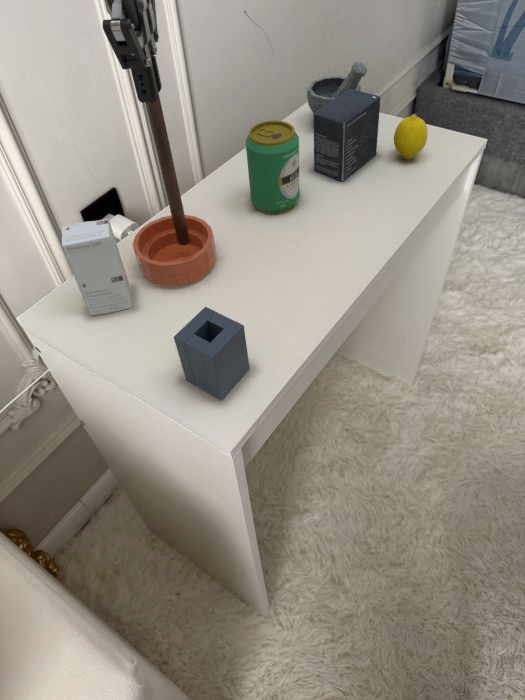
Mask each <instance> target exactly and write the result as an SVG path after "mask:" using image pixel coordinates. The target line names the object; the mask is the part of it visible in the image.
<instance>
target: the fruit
mask: <svg viewBox="0 0 525 700" xmlns="http://www.w3.org/2000/svg"><path fill="white" fill-rule="evenodd" d="M428 135H429V134H428V127H427V124H426V122H425V120H424V119H422V118H421V117H420V116H417V114H416V113H412V114H411V115H410V116H407V117H405V118H402V119H401V121H399V123H398V124H397V126H396V128H395V130H394V135H393V145H394V148H395V150H396V151H397V152H398V153H399V155H401V156H402V158H403V159H405V160H410V159H412V157H414V156H416V155H418V154H419V153H420V152H421V151H422V150H423V149H424V147H425V146H426V144H427V140H428Z"/></svg>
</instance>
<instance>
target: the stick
mask: <svg viewBox="0 0 525 700" xmlns="http://www.w3.org/2000/svg"><path fill="white" fill-rule="evenodd" d="M148 48H149V47H148ZM149 53H150V50H149ZM132 55H134V54H132ZM150 58H151V55H150ZM151 61H152V59H151ZM151 65H152V69H153V64H152V63H151ZM153 74H154V78H155V73H154V69H153ZM155 83H156V78H155ZM156 88H157V83H156ZM157 92H158V88H157ZM160 97H161V96H160V92H158V98H157V100H156V102H145V103H144V105H145V109H146V115H147V118H148V122H149V127H150V131H151V135H152V139H153V144H154V148H155V152H156V156H157V160H158V165H159V168H160V172H161V177H162V181H163V182H162V183H163V185H164V190H165V194H166V198H167V203H168V207H169V211H170V216H171V215H172V220H173V224H174V228H175V232H176V237H177V241H178V244H179V245H187V244H189V243H190V237H189V233H188V228H187V223H186V219H185V215H186V214H185V209H184V205H183V202H182V201H183V200H182V196H181V192H180V187H179V182H178V177H177V171H176V167H175V163H174V159H173V154H172V150H171V149H172V148H171V145H170V140H169V135H168V130H167V125H166V121H165V116H164V111H163V106H162V101H161V98H160Z"/></svg>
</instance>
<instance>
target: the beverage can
mask: <svg viewBox="0 0 525 700" xmlns="http://www.w3.org/2000/svg"><path fill="white" fill-rule="evenodd" d="M245 149H246V151H245V152H246V161H247V162H246V163H247V172H248V182H249V193H250V200H251V203H252V204H253V206H254V207H255V209H257V210H258V211H259V212H261V213H264V214H267V215H280V214H285V213H287V212H290V211H291V210H292V209H294V208H295V207H296V205H297V202H298V200H299V199H300V137H299V136H298V134H297V132H296V130H295V127H294V126H293V125H292V124H291V123H289V122H286V121H283V120H277V119H276V120H265V121H261V122H259V123H256V124H254V125H253V126H251V128H250V129H249V131H248V135H247V137H246V139H245Z"/></svg>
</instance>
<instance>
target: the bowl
mask: <svg viewBox="0 0 525 700" xmlns="http://www.w3.org/2000/svg"><path fill="white" fill-rule="evenodd" d="M185 219H186V223H187V228H188V233H189V237H190V243H189V244H187V245H179V244H178V241H177V237H176V232H175V228H174V224H173V220H172V215H171V214H170V215H167V216H162V217H159V218H156V219H155V220H152V221H150V222H148V223H147V224H145V225H144V226H142V227H141V228H140V230H138V232H137V233H136V234H135V236H134V239H133V242H132V248H133V253H134V256H135V258H136V261H137V265H138V268H139V271H140V273H141V275H142V276H143V277H144V278H145V279H146V280H147V281H149V282H151V283H152V284H155V285H160V286H163V287H180V286H184V285H188V284H192V283H195V282H197V281H198V280H200V279H202V278H203V277H205V276H207V274H208V273H210V272H211V271H212V269H213V267H214V266H215V264H216V261H217V249H216V243H215V238H214V232H213V229H212V227H211V225H209V223H208V222H207V221H206V220H204V219H201V218H200V217H198V216H194V215H188V214H185Z"/></svg>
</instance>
